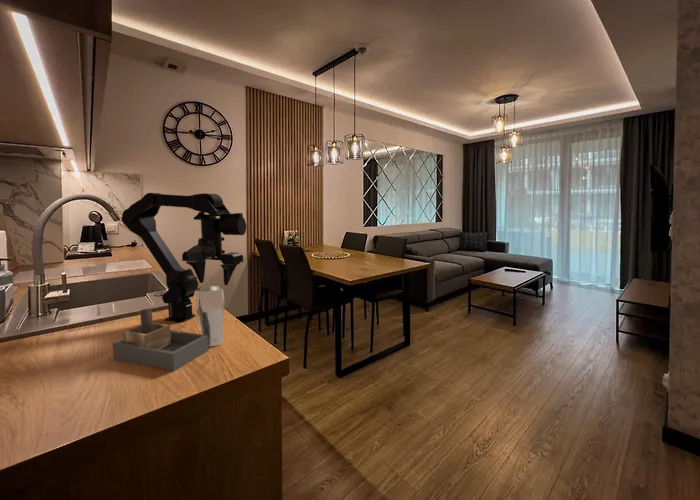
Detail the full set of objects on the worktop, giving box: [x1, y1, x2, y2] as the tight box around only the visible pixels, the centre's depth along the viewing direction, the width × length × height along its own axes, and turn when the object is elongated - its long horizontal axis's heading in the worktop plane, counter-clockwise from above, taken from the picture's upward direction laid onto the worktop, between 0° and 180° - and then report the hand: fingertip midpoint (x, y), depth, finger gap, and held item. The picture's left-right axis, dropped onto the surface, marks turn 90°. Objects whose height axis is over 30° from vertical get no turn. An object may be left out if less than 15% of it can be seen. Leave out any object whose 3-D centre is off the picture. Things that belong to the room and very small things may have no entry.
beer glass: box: [195, 284, 226, 348], centre depth 89 cm, size 7×7×15 cm
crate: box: [123, 308, 171, 349], centre depth 83 cm, size 7×7×10 cm
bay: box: [112, 329, 209, 372], centre depth 82 cm, size 18×11×4 cm, turn 73°
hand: (213, 283), depth 105 cm, fingers open, 9 cm apart
